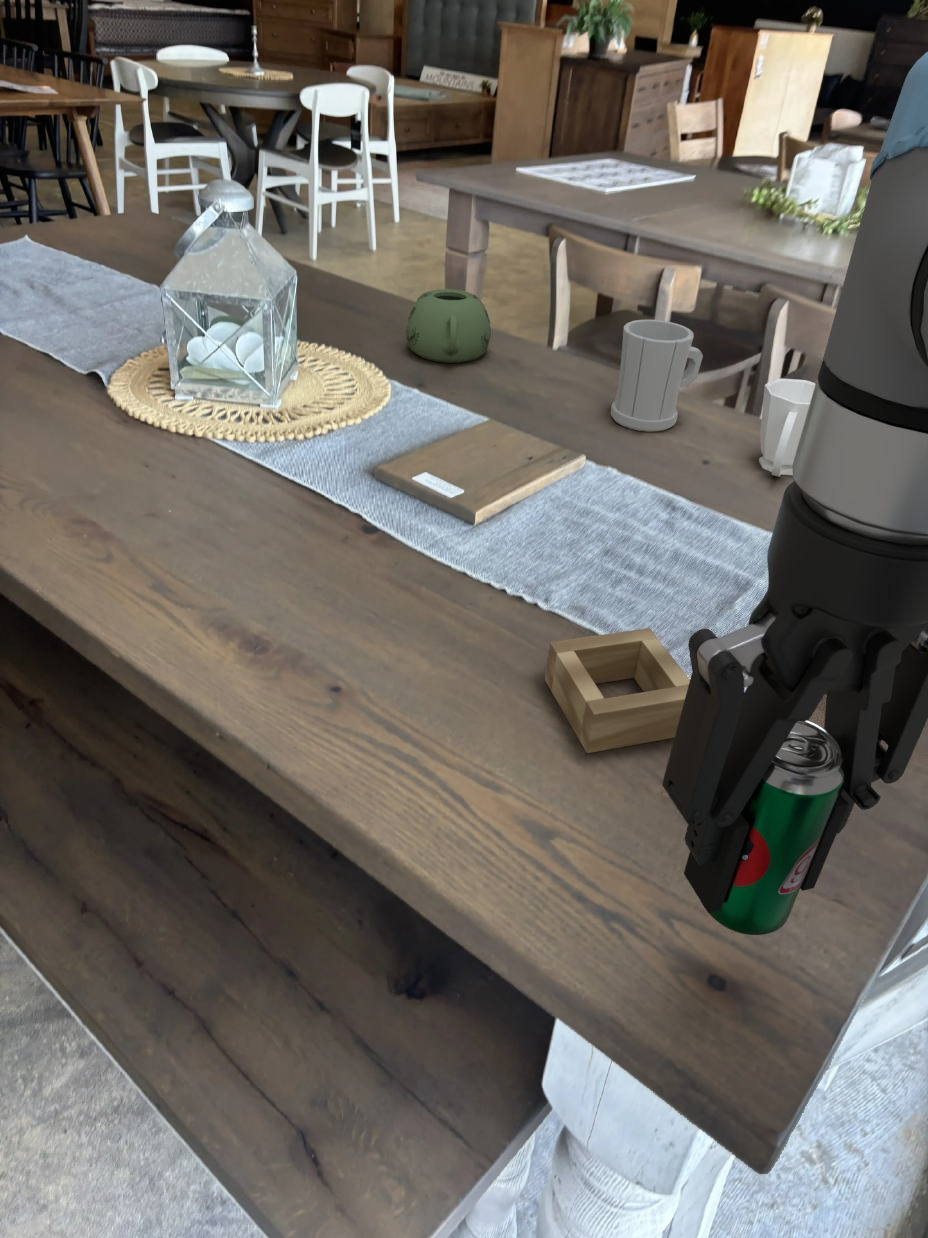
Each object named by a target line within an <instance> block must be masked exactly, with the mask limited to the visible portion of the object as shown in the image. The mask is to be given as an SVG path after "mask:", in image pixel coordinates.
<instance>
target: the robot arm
mask: <svg viewBox="0 0 928 1238" xmlns="http://www.w3.org/2000/svg"><path fill="white" fill-rule="evenodd" d="M888 125H889V126H888V128H887V131H886V133H885V137H884V139H883V142H882V145H881V148H880V151H879V153H877V154H876V155H875V157H874V159H873V160H872V163H871V166H870V173H869V179H870V186H869V189H868V193H867V195H866V196H867V197H866V200H865V203H864V207H863V211H862V215H861V218H860V222H859V226H858V228H857V232H856V237H855V239H854V244H853V247H852V252H851V255H850V259H849V262H848V266H847V270H846V273H845V277H844V280H843V285H842V288H841V291H840V295H839V299H838V302H837V306H836V310H835V314H834V317H833V320H832V323H831V324H832V325H831V327H830V328H831V329H830V332H829V335H828V338H827V341H826V342H827V343H826V347H825V350H824V354H823V357H822V362H821V365H820V368H819V371H818V375H817V379H816V381H815V383H816V384H815V388H814V391H813V395H812V398H811V402H810V405H809V409H808V413H807V416H806V420H805V423H804V427H803V430H802V434H801V437H800V441H799V444H798V448H797V451H796V455H795V458H794V462H793V465H792V469H793V475H792V478H793V479H794V480H793V481H792V482H791V483H789V485H788V486H787V487H786V488H785V490H784V492H783V496H782V499H781V502H780V507H779V510H778V513H777V517H776V521H775V524H774V528H773V531H772V535H771V538H770V542H769V545H768V548H767V553H766V561H767V562H766V563H767V571H768V572H767V574H768V575H767V577H768V578H767V579H768V582H767V585H768V586H767V589H766V592H765V594H764V596H763V597H762V599H761V600H760V602H759V603H758V604H757V605H756V607H754V609H753V611H752V612H751V614H750V617H749V618H748V625H746V626H743V627H741V628H738V629H737V630H734V631H732V632H729V633H727V634H725V635H722V636H720V637H718V636H717V635H716V634H715V633H714V632H713V630H711V629H710V628H701V629H699V630H696V631H695V632H694V633H692V634H691V636H690V638H689V640H688V645H687V646H688V651H689V658H690V666H691V676H690V678H689V679H690V682H689V686H688V690H687V694H686V697H685V701H684V705H683V708H682V712H681V716H680V719H679V723H678V727H677V731H676V734H675V738H673V742H672V745H671V750H670V753H669V756H668V760H667V763H666V764H667V765H666V768H665V772H664V775H663V779H662V787H663V789H664V790H665V792H666V793H667V795H668V797H669V799H670V800H671V802H672V803H673V805H674V806H675V807H676V809H677V810H678V812H679V814H680V815H681V816H682V818H683V819H684V821H685V822H686V824H687V827H686V831H685V835H684V837H683V838H684V839H683V840H684V842H685V845H686V847H687V848H688V850H689V853H688V857H687V859H686V860H687V861H686V864H685V867H684V871H683V875H684V877H685V878H686V880H687V881H688V884H689V885H690V886H691V888H692V890H693V891H694V893H695V894H696V896H697V897H698V900H699V901H700V903H701V902H702V903H701V905H702V904H703V905H702V906H703V908H704V907H705V908H704V909H705V911H706V912H707V914H709V913H712V912H716V911H720V910H721V908H722V905H723V902H724V899H725V896H726V893H727V890H728V887H729V884H730V882H731V879H732V876H733V873H734V870H735V867H736V864H737V861H738V858H739V855H740V852H741V849H742V846H743V843H744V840H745V837H746V834H747V831H748V828H749V824H748V823H747V821H746V820H745V818H744V817H743V816H742V814H741V812H742V810H743V809H744V807H745V805H746V804H747V802H748V800H749V799H750V797H751V796H752V794H753V792H754V791H755V789H756V787H757V786H758V784H759V782H760V781H761V779H762V778H763V776H764V774H765V773H766V771H767V769H768V768H769V766H770V765H771V763H772V761H773V760H774V758H775V756H776V755H777V753H778V751H779V750H780V748H781V747H782V745H783V743H784V742H785V740H786V738H787V737H788V735H789V734H790V732H791V730H792V729H793V727H794V725H795V724H796V722H797V721H807V720H808V721H809V720H810V719H811V717H812V716H813V714H814V713H815V711H816V709H817V708H818V706H819V704H820V703H821V701H822V699H823V698H824V696H826V697H825V698H826V699H825V713H824V723H823V724H824V725H823V728H824V729H825V730H826V731H828V732H829V733H830V734H831V735H832V736H833V737H834V738H835V739H836V740H837V742H838V743H839V745H840V747H841V749H842V752H843V761H842V764H843V767H844V770H845V778H844V782H843V784H842V787H841V789H840V792H839V794H838V797H837V799H836V802H835V804H834V807H833V809H832V812H831V814H830V816H829V819H828V821H827V824H826V826H825V829H824V831H823V834H822V836H821V839H820V841H819V844H818V846H817V848H816V851H815V853H814V856H813V858H812V861H811V863H810V866H809V868H808V871H807V873H806V876H805V878H804V880H803V883H802V885H801V888H800V890H801V891H802V892H803V891H807V890H812V889H815V888H816V887H815V886H816V884H817V882H818V879H819V877H820V875H821V872H822V870H823V868H824V866H825V863H826V860H827V858H828V856H829V853H830V851H831V848H832V846H833V844H834V841H835V840H836V839H835V838H836V836H837V835H839V834H840V833H841V832H842V831H843V829H844V828H845V827H846V825H847V823H848V821H849V817H850V815H851V813H852V811H853V808H854V806H855V805H856V806H857V807H858V808H859V809H860V810H861V811H867V810H870V809H872V808H874V807H875V806H876V805H877V804H878V803H879V802H880V800H881V795H879V794H878V792H877V791H876V790H875V789H874V787H872V784H873V783H874V782H876V781H879V780H881V781H882V782H883V783H884V784H886V785H889V784H892V783H896V782H898V781H899V780H900V779H901V777H902V776H903V775H904V773H905V771H906V769H907V767H908V764H909V762H910V760H911V758H912V756H913V753H914V751H915V749H916V747H917V744H918V742H919V740H920V738H921V735H922V732H923V731H924V728H925V726H926V723H927V721H928V51H926V52H925V53H924V54H923V55H922V56H921V57H920V58H918V60H916V62H915V63H914V64H913V66H912V67H911V68H910V70H909V71H908V73H907V75H906V77H905V79H904V82H903V85H902V88H901V91H900V94H899V96H898V99H897V102H896V106H895V107H894V110H893V113H892V117H891V118H890V123H889V124H888ZM745 688H746V689H745ZM882 741H883V742H884V743H885V744H886V745H887V749H886V747H884V745H883V744H882Z"/></svg>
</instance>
